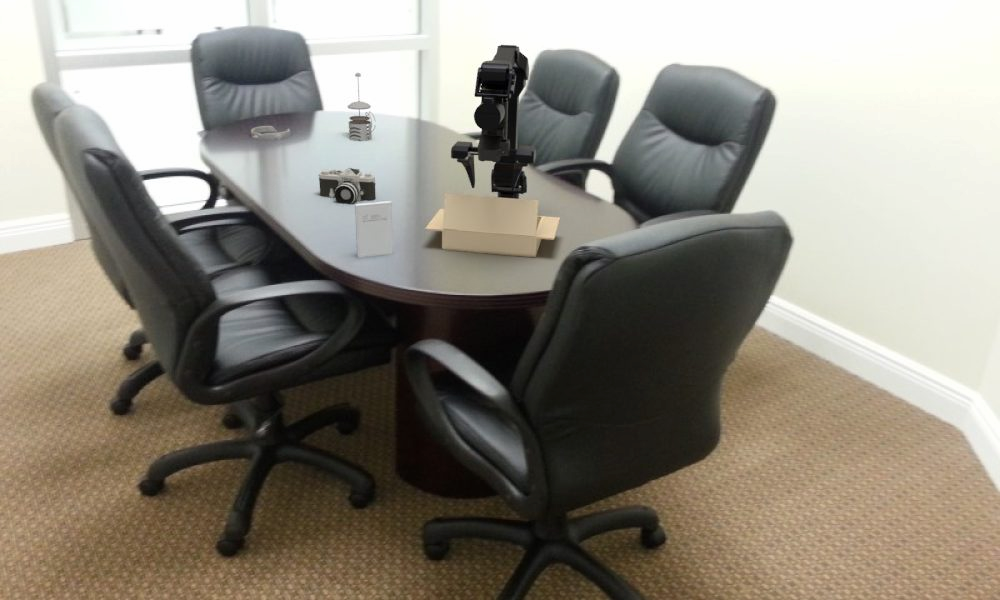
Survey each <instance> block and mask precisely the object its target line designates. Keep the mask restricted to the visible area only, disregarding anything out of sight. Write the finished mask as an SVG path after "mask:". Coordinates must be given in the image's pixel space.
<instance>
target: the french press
mask: <svg viewBox="0 0 1000 600" xmlns="http://www.w3.org/2000/svg"><path fill="white" fill-rule="evenodd" d="M354 76H355V77H357V78H359V77H362V75H361V73H360V72H356V73H355V74H354ZM359 86H360V85H359V80H357V94H358V96H357V97H358V98H360V87H359ZM346 108H347V109H349V110H358V115H352V116H349V120H350V121H348V129H349V130H348V136H349V137H348V139H349V140H352V141H353V142H359V140H360V142H367V141H371V140H372V135H373V134H372V133H373V132H374V131H375V129H376V126H374V128H373V120H372V117H373V119H374V121H376V118H375V115H374V113H372V112H371V111H369V109H370V108H372V106H371V105H370V103H368V102H364V101H361V100H357V101H352V102H351V103H350V104H348V105H347V107H346ZM361 110H368V111H366V112H365V115H361V112H360V111H361ZM371 115H372V116H371ZM372 128H373V130H372ZM356 139H357V140H356Z"/></svg>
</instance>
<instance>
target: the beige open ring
mask: <svg viewBox="0 0 1000 600" xmlns="http://www.w3.org/2000/svg"><path fill="white" fill-rule="evenodd" d="M265 132H266V133H265ZM268 132H269V133H268ZM291 136H292V135H291V130H290V128H287V129H286V130H285V131H281V132H280V131H279V132H278V131H277V129H276V128H274V126H272V125H261V126H256V127H252V128H251V129H250V137H251V139H252V140H270V141H271V140H273V141H274V140H276V141H282V140H284V139H288V138H289V137H291Z"/></svg>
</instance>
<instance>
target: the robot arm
mask: <svg viewBox="0 0 1000 600" xmlns="http://www.w3.org/2000/svg"><path fill="white" fill-rule="evenodd" d="M476 74H477V75H476V79H475V89H474V97H475V98H481V102H480V104H479V105H478V106H477V107H476V109H475V111H474V112H473V113H474V114H473V119H474V123H475V124H476V126H477V127H478V128H479V129H481V130H480V131H481V132H480V133H481V134H480V137H479V140H478V143H477V146H473V142H472V141H456V142H455V143H454V144H453V145H452V147H451V148H450V149H451V150H450V158H451V159H454V160H456V162H457V163H460V164H462V166H463V168H464V170H465V172H466V174H467V177H468V180H469V182H470V185H471V188H472V189H474V188H475V185H476V174H475V169H476V168H475V156H477V158H478V161H480V162H485V161H486V162H493V163H494V165H493V169H491V174H490V183H491V184H490V185H491V193H497V197H500V198H514V199H520V195H524V194H526V193H527V192H528V178H527V176H526V172H525V171H524V169H523V168H524V167H525V168H527V167H529V164H534V163H535V162H536V158H537V148H536V146H535V145H526V144H525V145H524V144H523V145H521V144H519V146H518V137H519V136H518V134H519V133H518V132H519V114H520V113H519V112H520V111H519V109H520V95H521V94H522V92H523V91H524V89H525V87H526V86H527V81H529V76H530V65H529V59H528V57H527V56H526V55H525V54H523V53H522V52H521V51H520V46H517V45H515V44H514V45H512V44H500V45H497V49H496V53H495V55H494V56H493V58H492V60H484V61H483V62H482V63H481V64H480V67H478V68H477V73H476Z"/></svg>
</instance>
